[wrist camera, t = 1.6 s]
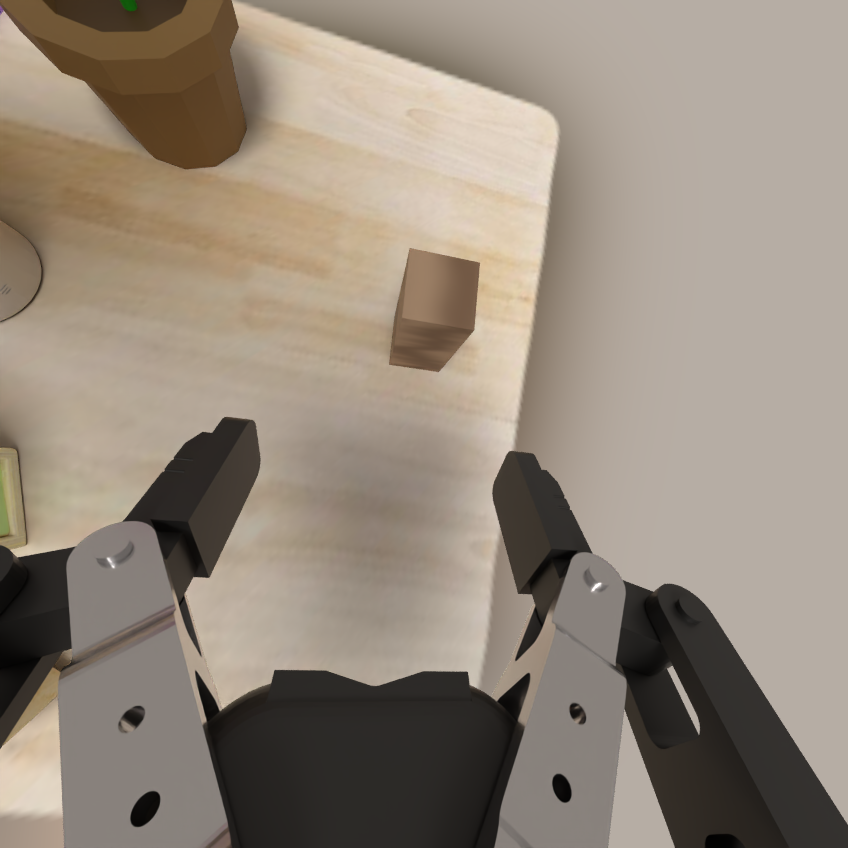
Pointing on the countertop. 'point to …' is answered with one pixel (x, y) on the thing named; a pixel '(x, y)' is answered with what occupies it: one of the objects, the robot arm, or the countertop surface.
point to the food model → (38, 701)
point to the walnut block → (433, 310)
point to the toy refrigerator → (11, 501)
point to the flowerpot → (149, 68)
